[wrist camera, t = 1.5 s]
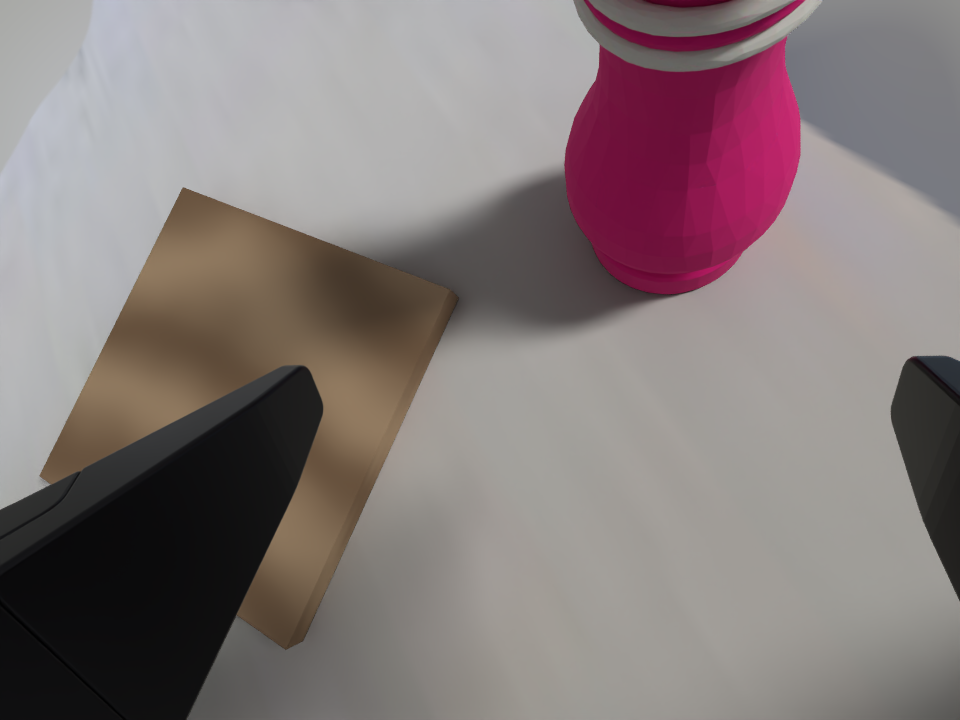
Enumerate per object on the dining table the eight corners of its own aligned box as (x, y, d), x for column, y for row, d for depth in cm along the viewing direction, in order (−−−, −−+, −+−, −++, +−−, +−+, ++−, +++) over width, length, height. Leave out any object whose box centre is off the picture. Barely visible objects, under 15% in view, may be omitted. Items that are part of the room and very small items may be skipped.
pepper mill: (688, 343, 21) (1068, -604, 3) (543, 245, 24) (182, -624, 5) (806, 195, 21) (2144, -1977, 2) (648, 111, 24) (696, -1317, 5)
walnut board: (302, 641, 23) (285, 649, 22) (63, 475, 28) (39, 475, 27) (458, 297, 24) (450, 289, 23) (200, 198, 30) (183, 187, 28)
